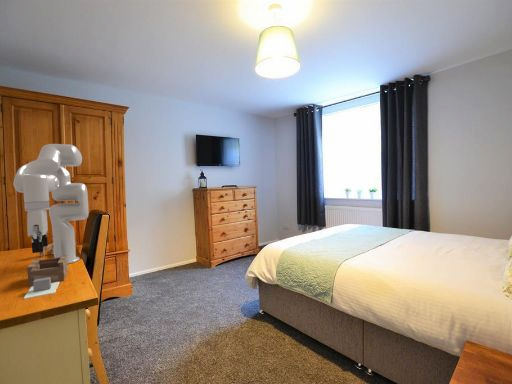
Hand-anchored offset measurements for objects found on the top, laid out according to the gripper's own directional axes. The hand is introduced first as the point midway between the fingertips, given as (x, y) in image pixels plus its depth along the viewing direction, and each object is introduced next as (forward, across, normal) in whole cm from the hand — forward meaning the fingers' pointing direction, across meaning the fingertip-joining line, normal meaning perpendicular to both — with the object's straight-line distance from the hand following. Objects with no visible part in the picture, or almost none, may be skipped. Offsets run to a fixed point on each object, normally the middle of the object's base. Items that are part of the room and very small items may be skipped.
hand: (40, 249), depth 104 cm
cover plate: (+17, +1, 0) cm, 17 cm away
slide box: (+17, -15, 0) cm, 22 cm away
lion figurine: (+18, -66, -8) cm, 69 cm away
